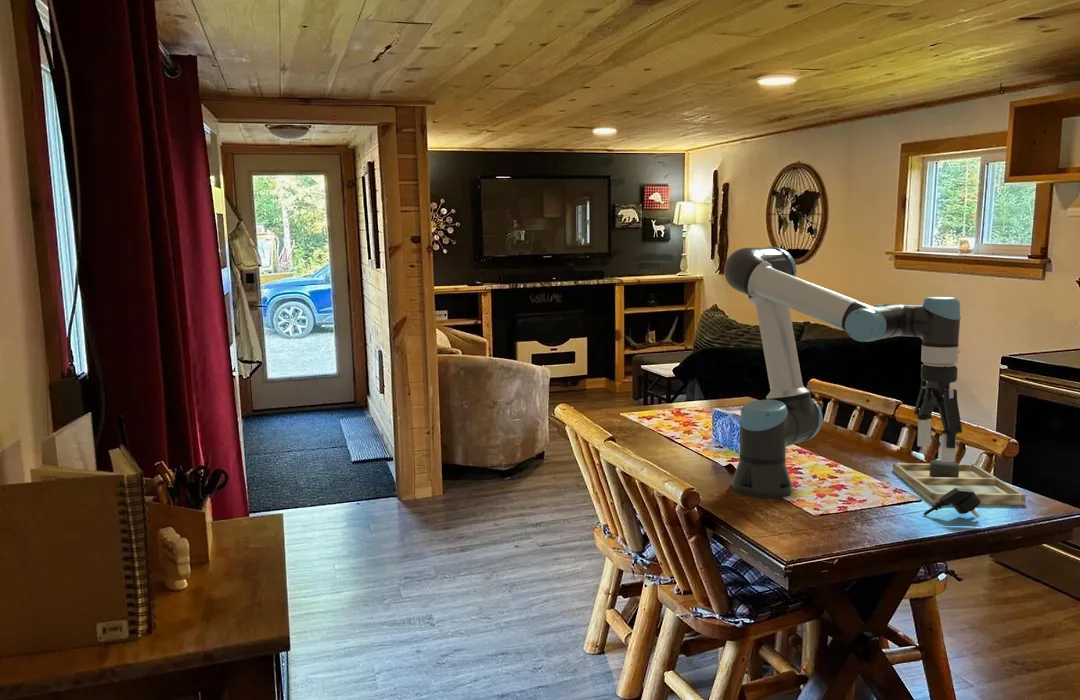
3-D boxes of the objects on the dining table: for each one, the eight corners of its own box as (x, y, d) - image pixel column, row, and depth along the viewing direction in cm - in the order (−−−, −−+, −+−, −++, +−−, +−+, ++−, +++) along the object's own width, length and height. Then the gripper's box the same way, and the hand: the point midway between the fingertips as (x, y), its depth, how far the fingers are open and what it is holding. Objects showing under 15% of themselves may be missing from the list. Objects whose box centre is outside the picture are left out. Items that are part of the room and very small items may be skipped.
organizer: (932, 503, 192) (932, 493, 192) (892, 471, 219) (893, 463, 219) (1025, 504, 191) (1025, 495, 190) (973, 472, 217) (974, 464, 217)
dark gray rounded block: (936, 479, 208) (936, 466, 207) (925, 472, 215) (926, 459, 214) (963, 479, 207) (963, 467, 207) (951, 472, 214) (952, 460, 214)
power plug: (918, 508, 187) (962, 479, 184) (938, 532, 187) (982, 505, 184) (925, 515, 181) (970, 486, 179) (945, 541, 181) (991, 512, 178)
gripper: (982, 372, 166) (977, 468, 169) (933, 356, 191) (930, 440, 194) (945, 372, 167) (941, 468, 170) (902, 356, 192) (898, 440, 194)
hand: (935, 453), depth 182 cm, fingers open, 13 cm apart
